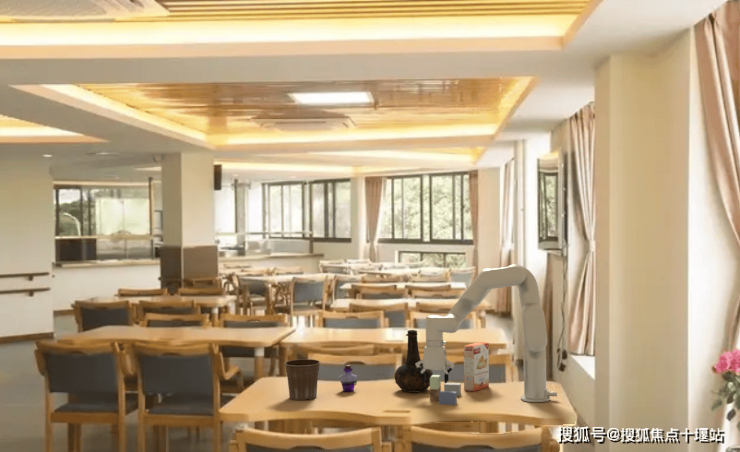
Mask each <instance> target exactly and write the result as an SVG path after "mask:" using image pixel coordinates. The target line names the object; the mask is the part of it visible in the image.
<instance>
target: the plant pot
mask: <svg viewBox="0 0 740 452" xmlns="http://www.w3.org/2000/svg"><path fill="white" fill-rule="evenodd" d="M283 364H284V365H285V371H286V372H285V373H286V375H287V376H286V377H287V385H288V393H289V394H288V395H289V399H291V400H294V401H306V400H310V399H311V400H315V398H317V395H318V394H317V391H318V378H319V376H318V375H319V371H320V364H321V361H320V360H317V359H311V358H309V359H308V358H306V359H305V358H301V359H300V358H299V359H291V360H290V359H289V360H287V361H285V362H283ZM311 400H310V401H311Z"/></svg>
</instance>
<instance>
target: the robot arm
mask: <svg viewBox="0 0 740 452" xmlns="http://www.w3.org/2000/svg"><path fill="white" fill-rule="evenodd" d="M514 286H516V287H517V289H518V293H519V294H518V295H519V301H520V302H519V304H520V317H521V320H522V321H521V322H522V329H523V335H522V348H523V351H522V352H523V389H524V391H523V394H522V395H521V396H520V400H521V401H524V402H527V403H528V402H529V403H544V402H549V401H550V400H551V397H555V398H556V397H558V392H557V391H553V390H552V391H551V390H548V388H547V353H546V352H547V350H546V347H547V345H548V334H547V333H548V332H547V325H546V316H545V311H544V310H543V308H542V305H541V298H540V296H541V295H540V292H539V291H540V290H539V286H538V281H537V279H536V277H535V276H534V275H533V273H532V272H531V270H529V269H527V267H525V266H522V265H520V264H518V263H517V264H516V263H514V264H510V265H508V266H505V267H499V268H489V267H487V268H483V269H482V270H481V271H480V272H479V274H478V275H477V276H476V277H474V279H473V280H472V282H471V283H470V284H469V286H468V287H467V288H466V290H465V291H463V293H462V295H461V296H460V298H459V299H458V300H457V302H456V303H455V304H454V305H453V306H452V308H451V309H450V310H449V311H448V312H447V314H446V315H445V316H441V315H437V314H436V315H435V314H433V315H427V316H426V317H425V346H424V348H423V357H422V358H423V359H421V361H419V362H417V363H415V365H416V366H417V368H418V370H419V371H420V372H421V373H422V380H423V383H424V382H426V373H425V371H426V369H428V370H431V371H433V370H434V371H436V370H437V371H443V372H444V375H443V376H444V384H445V383H448V382H449V381H450V380H449V374H450V373H451V372H452V371H453V369H454V367H455V363H454V362H452V361H450V360H448V359H447V351H446V350H447V349H446V346H444V345H447V341H446V340H444V333H447V334H453V333H456V332H458V331H459V330H460V327H461V324H462V323H463V322H464V321H465V319H466V318H467V316H469V314H470V313H471V312H472V311H474V310H475V309H476V308H477V307H479V306H480V305H481V304H482V302H483V301H484V300H485V299H486V297H487V296H488V294H489V293H490V292H491V291H492V290H495V289H502V288H503V289H504V288H508V287H514ZM421 363H423V369H422V368H421V367H420V364H421ZM448 365H449V366H450V367H449V368H447V366H448Z"/></svg>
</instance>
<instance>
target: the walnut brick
mask: <svg viewBox="0 0 740 452" xmlns="http://www.w3.org/2000/svg"><path fill="white" fill-rule="evenodd" d="M441 388H442V386H440V388H439V389H430V388H429V401H430V402H431V401H434V402H439V392H440V391H442V389H441Z"/></svg>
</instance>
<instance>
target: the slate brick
mask: <svg viewBox="0 0 740 452" xmlns="http://www.w3.org/2000/svg"><path fill="white" fill-rule="evenodd" d="M461 383H462V382H447V383H445V382H444V384H443V391H452V392H457V397H459V396H461V395H462V388H461V386H462V385H461Z"/></svg>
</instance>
